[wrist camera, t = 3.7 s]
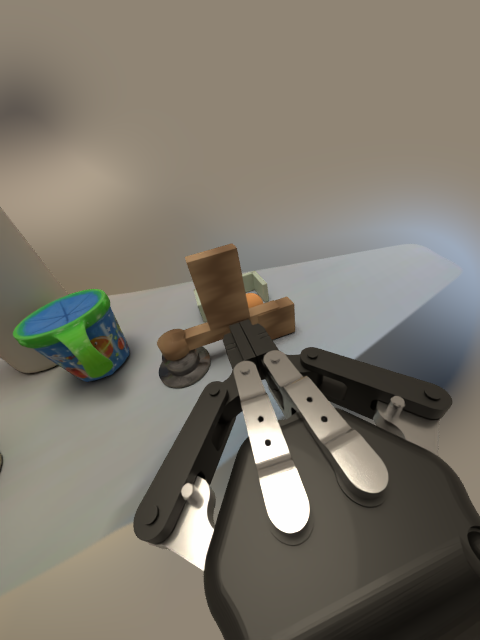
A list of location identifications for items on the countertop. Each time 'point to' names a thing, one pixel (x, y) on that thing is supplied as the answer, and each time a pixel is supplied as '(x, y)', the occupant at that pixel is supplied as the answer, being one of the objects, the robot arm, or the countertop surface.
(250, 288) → the sage green c-shaped clamp
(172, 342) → the lever
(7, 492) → the countertop surface
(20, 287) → the cylinder vase
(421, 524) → the robot arm
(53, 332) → the snack cup
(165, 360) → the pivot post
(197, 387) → the countertop surface
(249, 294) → the ball
